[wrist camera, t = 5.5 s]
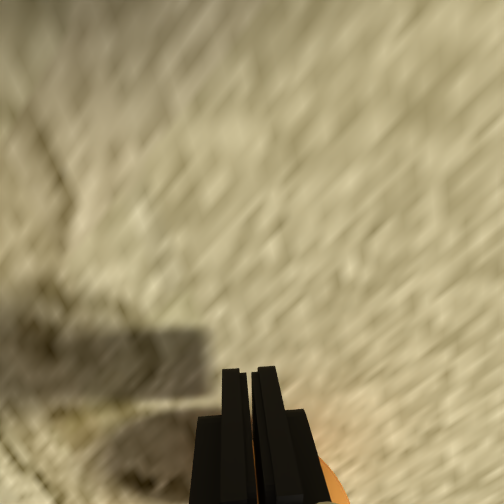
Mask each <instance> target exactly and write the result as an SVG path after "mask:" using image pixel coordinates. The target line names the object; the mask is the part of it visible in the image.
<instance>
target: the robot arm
mask: <svg viewBox="0 0 504 504" xmlns="http://www.w3.org/2000/svg"><path fill="white" fill-rule="evenodd" d="M251 377H252V419H253V443H252V431H251V420H250V409H249V398H248V387H247V375H246V373H240V372H239V368H236V369H222V415H217V416H203V417H198V421H197V429H196V439H195V449H194V459H193V468H192V478H191V488H190V498H189V504H257V491H258V502H259V504H337V503H333V502H332V501H331V498H330V494H329V491H328V487H327V484H326V481H325V477H324V474H323V471H322V467H321V464H320V460H319V457H318V454H317V450H316V447H315V443H314V440H313V437H312V433H311V430H310V427H309V423H308V420H307V416H306V414H305V411H304V409H296V410H285V409H284V404H283V400H282V395H281V391H280V386H279V382H278V377H277V373H276V368H275V366H266V367H258V372H252V373H251ZM253 447H254V454H253ZM254 458H255V465H254ZM255 469H256V476H255ZM256 480H257V488H256Z"/></svg>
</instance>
